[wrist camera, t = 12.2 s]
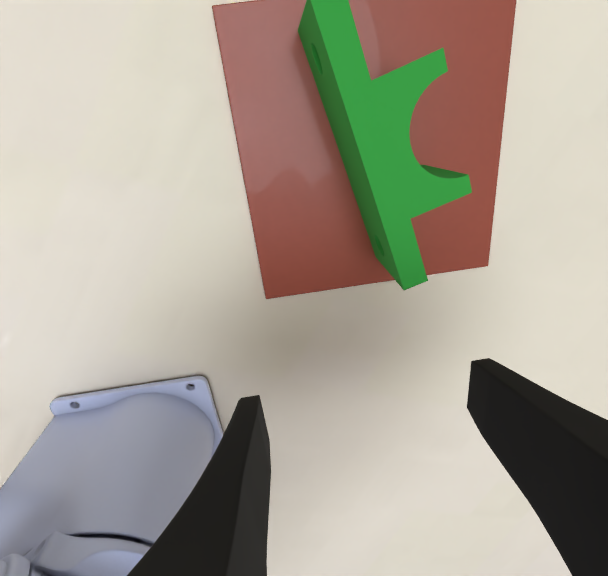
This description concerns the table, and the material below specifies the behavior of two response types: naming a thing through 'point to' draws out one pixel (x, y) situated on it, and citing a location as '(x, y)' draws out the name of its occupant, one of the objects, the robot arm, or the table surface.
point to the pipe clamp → (378, 135)
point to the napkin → (324, 151)
